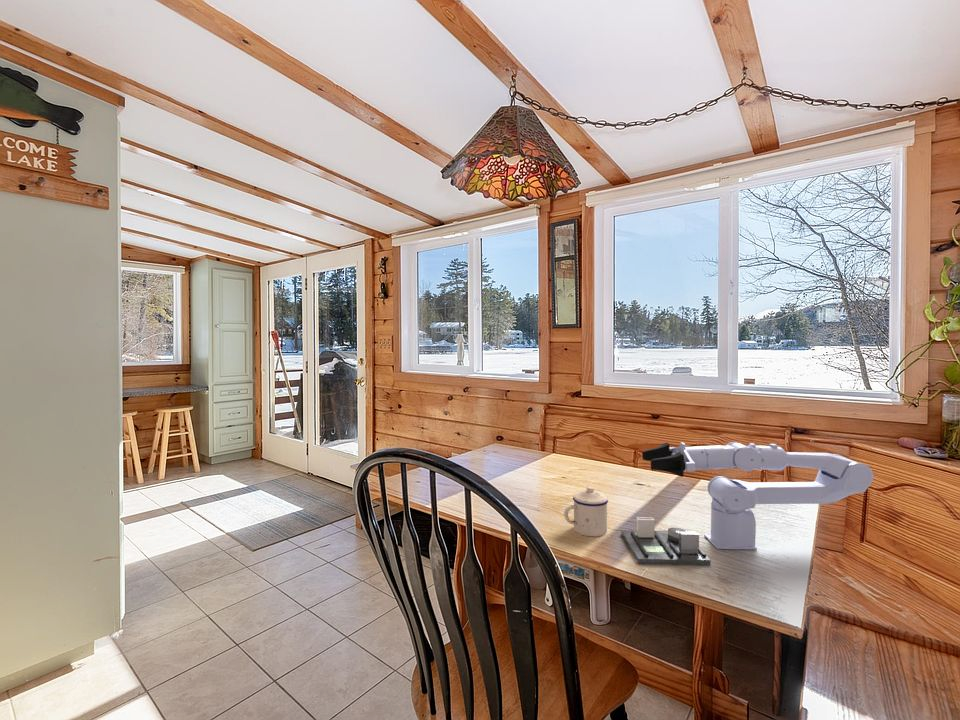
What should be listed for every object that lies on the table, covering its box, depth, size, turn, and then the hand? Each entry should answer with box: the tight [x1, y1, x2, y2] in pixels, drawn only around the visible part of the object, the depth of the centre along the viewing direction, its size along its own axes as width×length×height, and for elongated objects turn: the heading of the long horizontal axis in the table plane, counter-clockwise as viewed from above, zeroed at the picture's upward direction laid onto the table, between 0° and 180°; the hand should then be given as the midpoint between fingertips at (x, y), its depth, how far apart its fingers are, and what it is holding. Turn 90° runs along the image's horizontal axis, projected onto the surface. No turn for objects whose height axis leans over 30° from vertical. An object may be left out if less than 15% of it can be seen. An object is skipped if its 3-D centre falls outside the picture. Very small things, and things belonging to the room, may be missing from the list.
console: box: [620, 527, 711, 566], centre depth 115 cm, size 16×16×6 cm
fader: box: [636, 516, 656, 537], centre depth 119 cm, size 4×2×5 cm, turn 87°
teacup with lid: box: [563, 486, 609, 538], centre depth 126 cm, size 12×9×12 cm
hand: (646, 459), depth 119 cm, fingers open, 7 cm apart
